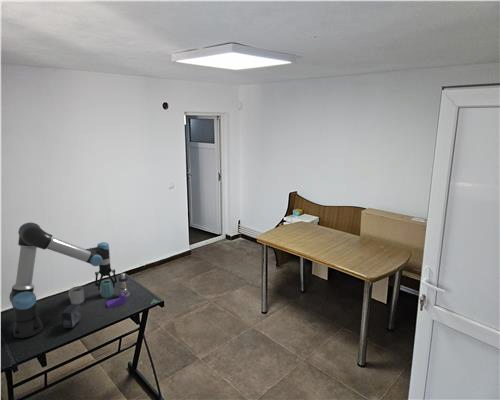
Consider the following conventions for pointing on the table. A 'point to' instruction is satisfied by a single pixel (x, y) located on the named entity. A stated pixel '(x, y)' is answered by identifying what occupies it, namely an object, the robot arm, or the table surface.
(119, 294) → the plate
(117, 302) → the bracket
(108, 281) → the sleeve
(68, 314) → the small box
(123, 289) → the pipe
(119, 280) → the ring
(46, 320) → the table surface
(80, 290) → the mug
